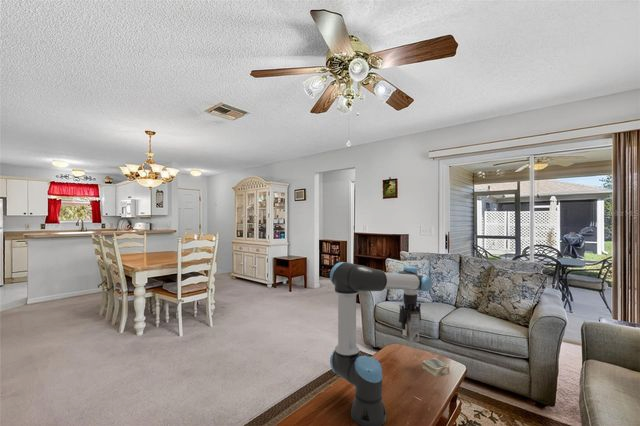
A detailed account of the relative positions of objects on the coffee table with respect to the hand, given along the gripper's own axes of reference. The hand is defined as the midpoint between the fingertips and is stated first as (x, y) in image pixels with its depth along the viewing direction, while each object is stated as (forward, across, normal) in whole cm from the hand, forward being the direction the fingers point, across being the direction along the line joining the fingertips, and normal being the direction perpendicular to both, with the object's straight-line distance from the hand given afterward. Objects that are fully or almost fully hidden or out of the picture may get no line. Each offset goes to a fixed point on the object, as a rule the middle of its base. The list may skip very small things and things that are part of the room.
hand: (409, 334), depth 167 cm
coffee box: (+3, 0, 0) cm, 3 cm away
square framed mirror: (+20, +13, -7) cm, 24 cm away
